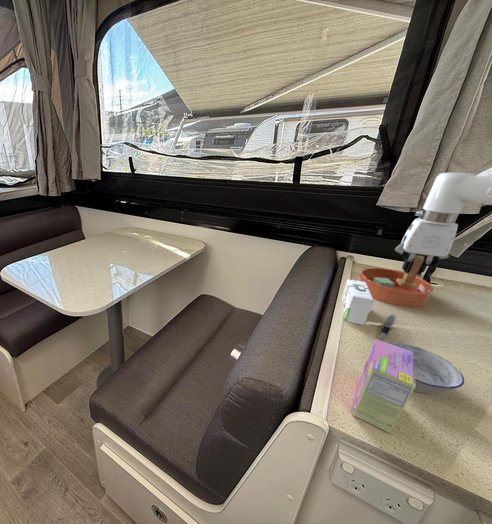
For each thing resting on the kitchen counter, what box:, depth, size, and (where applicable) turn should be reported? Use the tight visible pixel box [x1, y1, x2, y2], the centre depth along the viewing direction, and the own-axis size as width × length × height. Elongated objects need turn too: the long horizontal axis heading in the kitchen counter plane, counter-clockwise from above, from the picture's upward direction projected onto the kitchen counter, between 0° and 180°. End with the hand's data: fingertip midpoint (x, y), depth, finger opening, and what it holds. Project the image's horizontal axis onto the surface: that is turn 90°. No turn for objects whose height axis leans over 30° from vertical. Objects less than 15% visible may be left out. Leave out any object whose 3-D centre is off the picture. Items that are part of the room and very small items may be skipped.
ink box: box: [341, 278, 375, 326], centre depth 80 cm, size 9×5×12 cm
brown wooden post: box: [396, 254, 425, 288], centre depth 86 cm, size 4×4×10 cm
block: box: [373, 277, 395, 289], centre depth 91 cm, size 4×4×4 cm
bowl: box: [387, 341, 465, 395], centre depth 58 cm, size 13×13×5 cm
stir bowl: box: [357, 267, 434, 308], centre depth 90 cm, size 18×18×6 cm
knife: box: [376, 314, 395, 340], centre depth 75 cm, size 15×1×3 cm
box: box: [351, 339, 416, 434], centre depth 51 cm, size 10×6×12 cm, turn 138°
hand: (411, 272), depth 86 cm, fingers closed on brown wooden post, 2 cm apart
